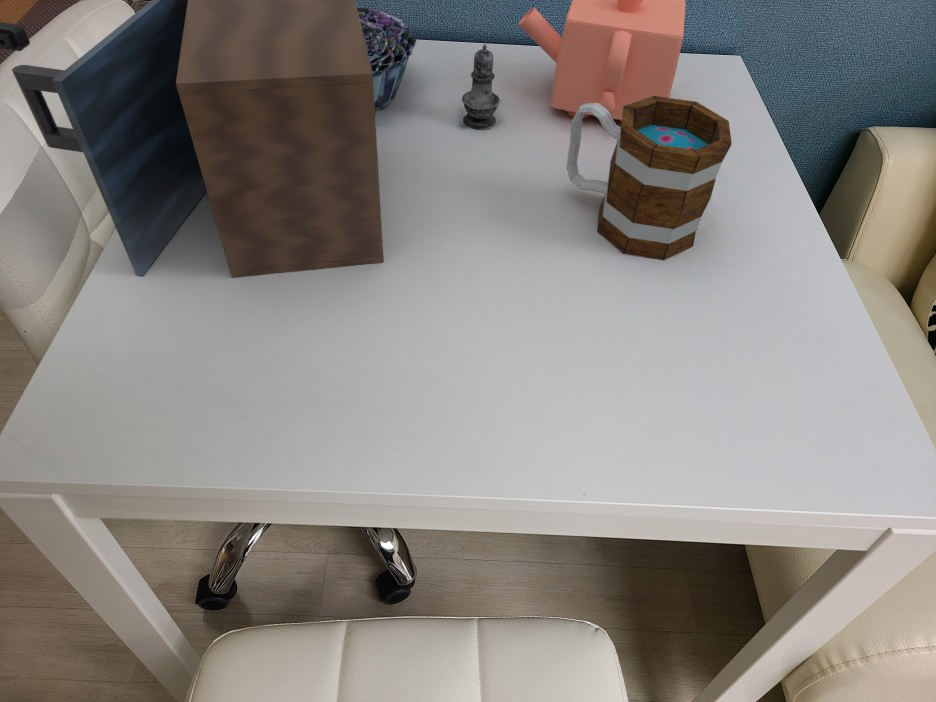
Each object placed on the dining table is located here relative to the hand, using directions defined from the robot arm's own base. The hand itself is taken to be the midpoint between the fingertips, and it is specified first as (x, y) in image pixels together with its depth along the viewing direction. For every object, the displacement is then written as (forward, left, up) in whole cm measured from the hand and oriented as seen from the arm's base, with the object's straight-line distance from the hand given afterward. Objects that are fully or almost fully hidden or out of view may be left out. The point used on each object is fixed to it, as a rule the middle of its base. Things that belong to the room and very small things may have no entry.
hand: (22, 38), depth 71 cm
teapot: (+73, +18, -22) cm, 78 cm away
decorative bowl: (+32, +26, -22) cm, 47 cm away
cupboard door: (+9, -2, -21) cm, 23 cm away
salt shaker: (+54, +14, -22) cm, 60 cm away
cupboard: (+26, -4, -21) cm, 34 cm away
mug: (+68, -13, -22) cm, 73 cm away
